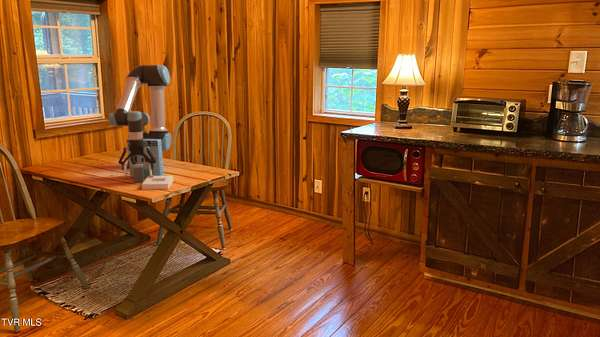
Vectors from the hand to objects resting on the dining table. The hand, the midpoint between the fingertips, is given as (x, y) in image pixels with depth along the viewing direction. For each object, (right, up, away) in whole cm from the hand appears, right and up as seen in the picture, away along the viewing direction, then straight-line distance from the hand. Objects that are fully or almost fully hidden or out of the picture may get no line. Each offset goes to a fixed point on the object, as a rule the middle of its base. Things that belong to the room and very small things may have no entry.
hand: (138, 175), depth 280 cm
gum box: (+1, -1, +12) cm, 12 cm away
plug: (0, -3, +1) cm, 4 cm away
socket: (+13, -5, -5) cm, 15 cm away
